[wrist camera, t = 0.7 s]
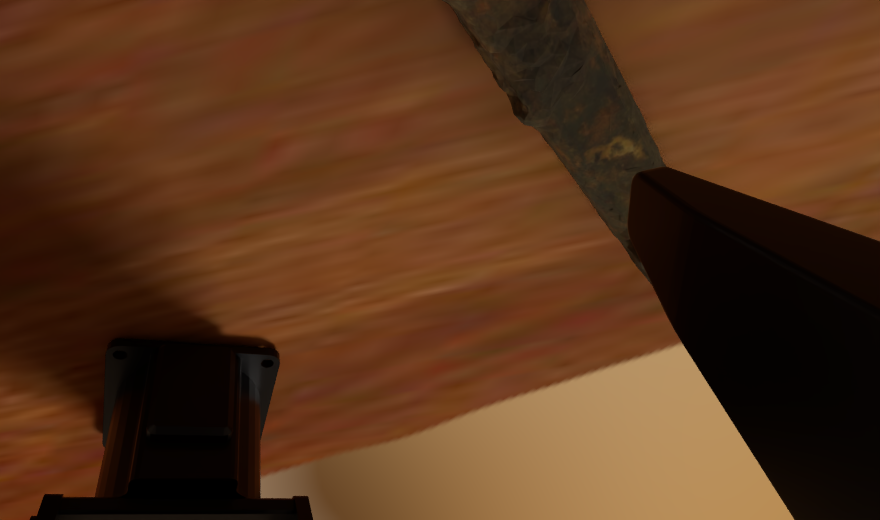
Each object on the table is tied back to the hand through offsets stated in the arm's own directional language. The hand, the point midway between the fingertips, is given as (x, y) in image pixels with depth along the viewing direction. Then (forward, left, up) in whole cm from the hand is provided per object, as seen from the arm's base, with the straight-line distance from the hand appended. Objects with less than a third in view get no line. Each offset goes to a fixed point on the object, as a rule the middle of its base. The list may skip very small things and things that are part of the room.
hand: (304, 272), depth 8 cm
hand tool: (-2, -11, -13) cm, 18 cm away
